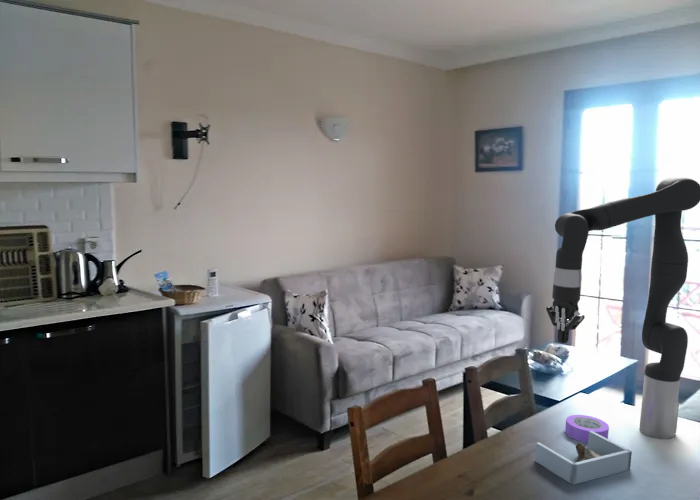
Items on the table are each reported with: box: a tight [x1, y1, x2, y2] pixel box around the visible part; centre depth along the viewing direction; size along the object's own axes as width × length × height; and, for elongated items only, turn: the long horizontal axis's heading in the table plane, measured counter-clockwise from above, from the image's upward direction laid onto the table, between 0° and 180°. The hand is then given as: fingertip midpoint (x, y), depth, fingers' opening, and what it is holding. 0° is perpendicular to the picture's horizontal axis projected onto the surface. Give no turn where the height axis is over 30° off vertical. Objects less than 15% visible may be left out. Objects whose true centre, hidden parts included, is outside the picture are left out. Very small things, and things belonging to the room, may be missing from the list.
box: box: [534, 431, 633, 486], centre depth 153 cm, size 20×13×5 cm, turn 115°
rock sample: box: [575, 441, 602, 461], centre depth 154 cm, size 10×8×9 cm
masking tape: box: [564, 414, 610, 444], centre depth 172 cm, size 12×12×4 cm
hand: (562, 342), depth 170 cm, fingers closed
